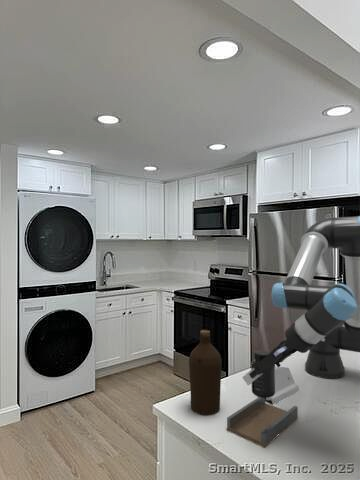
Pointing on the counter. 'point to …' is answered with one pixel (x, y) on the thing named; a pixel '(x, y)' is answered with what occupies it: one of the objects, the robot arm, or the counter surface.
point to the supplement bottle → (263, 377)
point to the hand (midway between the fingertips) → (252, 377)
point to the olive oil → (205, 376)
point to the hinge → (283, 385)
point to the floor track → (260, 421)
